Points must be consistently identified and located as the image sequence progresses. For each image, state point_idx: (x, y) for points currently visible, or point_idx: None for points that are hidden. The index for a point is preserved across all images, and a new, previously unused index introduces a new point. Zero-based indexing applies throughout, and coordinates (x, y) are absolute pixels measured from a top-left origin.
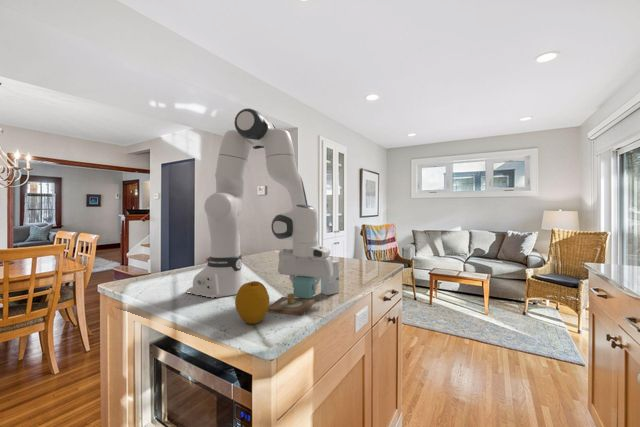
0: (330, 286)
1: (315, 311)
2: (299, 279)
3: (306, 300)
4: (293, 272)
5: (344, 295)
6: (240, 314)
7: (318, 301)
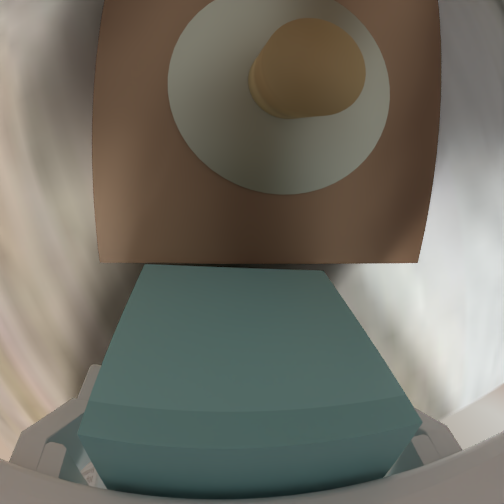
0: (86, 467)
1: (40, 62)
2: (305, 419)
3: (159, 214)
4: (446, 498)
5: (27, 417)
6: None
7: (96, 297)
